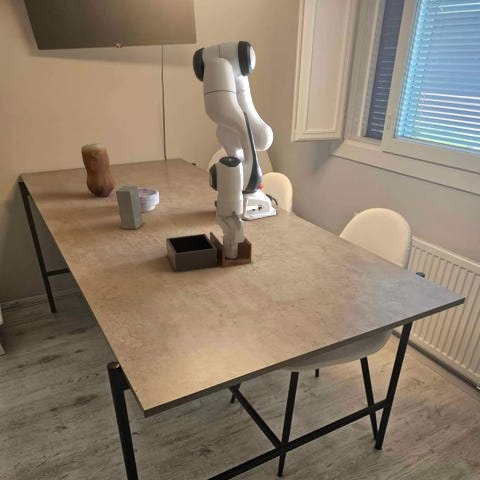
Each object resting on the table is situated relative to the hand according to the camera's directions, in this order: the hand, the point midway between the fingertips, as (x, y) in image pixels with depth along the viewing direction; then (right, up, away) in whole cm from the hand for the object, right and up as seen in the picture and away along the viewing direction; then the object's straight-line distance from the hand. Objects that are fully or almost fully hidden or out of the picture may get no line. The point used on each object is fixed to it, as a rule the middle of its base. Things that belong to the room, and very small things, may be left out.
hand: (229, 244), depth 154 cm
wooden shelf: (0, -4, +3) cm, 5 cm away
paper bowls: (-41, +24, +45) cm, 66 cm away
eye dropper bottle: (0, -4, +3) cm, 5 cm away
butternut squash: (-65, +34, +60) cm, 95 cm away
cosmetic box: (-42, +13, +27) cm, 51 cm away
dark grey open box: (-14, -6, -1) cm, 15 cm away
